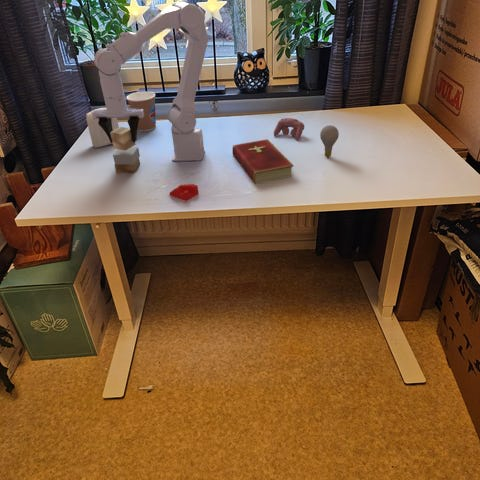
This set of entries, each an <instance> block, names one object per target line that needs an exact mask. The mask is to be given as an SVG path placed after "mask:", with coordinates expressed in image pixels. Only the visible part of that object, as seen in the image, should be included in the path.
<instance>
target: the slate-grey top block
mask: <svg viewBox="0 0 480 480" xmlns="http://www.w3.org/2000/svg"><path fill="white" fill-rule="evenodd" d="M112 156H113V161H114V165H115V164H135V162H136V161H137V160H138V158H139V159H140V157H141V155H140V149H139V146H132V147H131V148H129V149H127V150H126V151H125V150H120V149H116V151H115V152H114V153H113V155H112Z"/></svg>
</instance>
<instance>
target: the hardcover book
mask: <svg viewBox="0 0 480 480" xmlns="http://www.w3.org/2000/svg"><path fill="white" fill-rule="evenodd" d="M232 155H233V157H234V158H235V160H236V161H237V162H238V164H239V165H240V167H241V168H242V169H243V171H244V172H245V173H246V174H247V176H248V177H249V178H250V180H251V181H252V183H253V184H254V185H256V184H257V183H263V182H268V181H273V180H278V179H279V180H280V179H284V178H288V176H289V177H292V170H293V169H292V168H293V167H294V164H293V163H292V162H291V161H290V160H289V159H288V158H287V157H286V156H285V155H284V154H283V153H282V152H281V151H280V150H279V149H278V148H277V147H276V146H275V145H274V144H273V143H272V142H271V141H270V140H269V139H268V138H266V139H260V140H255V141H249V142H243V143H238V144H233V145H232Z"/></svg>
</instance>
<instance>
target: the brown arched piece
mask: <svg viewBox="0 0 480 480" xmlns="http://www.w3.org/2000/svg"><path fill="white" fill-rule="evenodd" d="M275 126H276V127H275V128H274V131H273V136H274V137H277V136H279V134H280V132H282V134H283V135H285V134H287V135H289V133H290V135H291V136H292V137H295V141H299V140H300V138H301V137H302V135H303V131H304V129H305V124H304V123H303V122H302V121H300V120H298V119H296V118H293V117H287V118H285V117H284V118H281V119H280V120H278V121H277V124H276V125H275ZM290 128H292V129H291V130H290ZM298 139H299V140H298Z"/></svg>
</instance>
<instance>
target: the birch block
mask: <svg viewBox="0 0 480 480" xmlns="http://www.w3.org/2000/svg"><path fill="white" fill-rule="evenodd" d="M110 134H111V138H112V142H113V144H112V145H113V148H114V149H116V150H118V149H120V150H125V151H126V150H127V149H129V148H131V147H135V146H136V142H133V141H132V135H131V130H130V127H124V126H119V128H117V129H116V130H114V131H112V132H110Z"/></svg>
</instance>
